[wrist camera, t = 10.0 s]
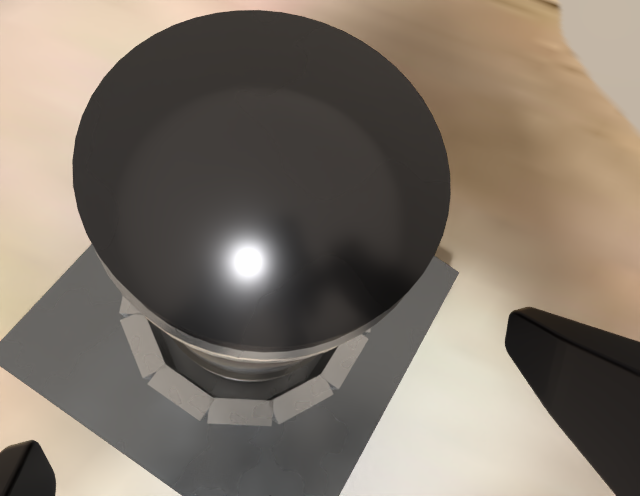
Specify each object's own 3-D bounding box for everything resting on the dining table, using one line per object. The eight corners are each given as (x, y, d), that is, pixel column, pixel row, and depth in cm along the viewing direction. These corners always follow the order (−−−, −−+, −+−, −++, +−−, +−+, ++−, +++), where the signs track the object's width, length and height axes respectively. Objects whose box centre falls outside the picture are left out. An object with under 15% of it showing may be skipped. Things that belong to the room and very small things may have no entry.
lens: (309, 395, 18) (453, 389, 6) (162, 373, 17) (-10, 317, 5) (328, 259, 20) (464, 50, 8) (197, 234, 19) (129, -35, 7)
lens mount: (291, 564, 17) (308, 617, 13) (2, 358, 18) (-69, 347, 14) (448, 278, 22) (495, 251, 18) (218, 124, 23) (213, 64, 19)
